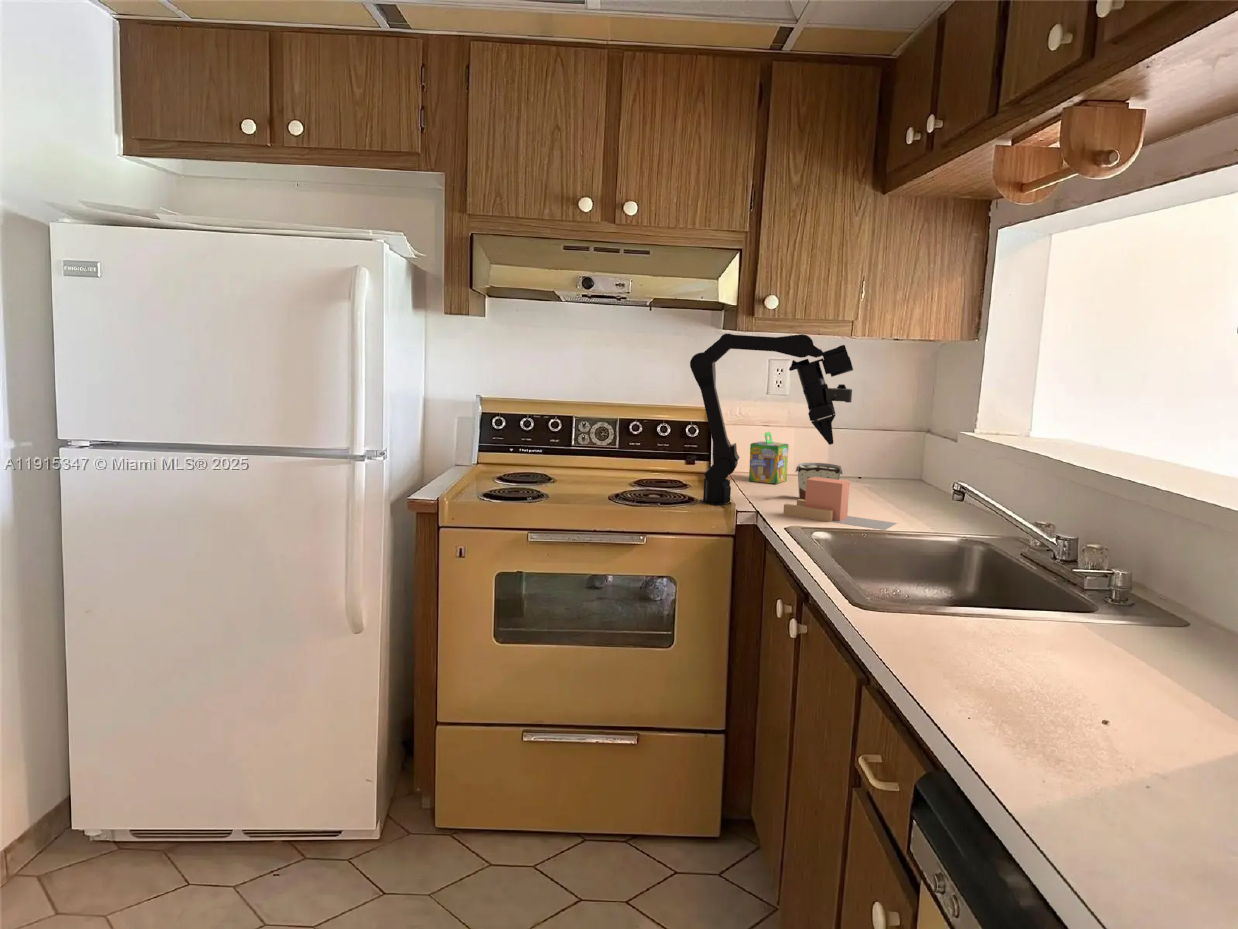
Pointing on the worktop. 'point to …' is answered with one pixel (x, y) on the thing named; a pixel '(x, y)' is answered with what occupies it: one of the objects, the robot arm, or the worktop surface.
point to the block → (828, 495)
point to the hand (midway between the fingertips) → (831, 442)
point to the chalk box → (768, 461)
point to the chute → (831, 516)
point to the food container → (815, 474)
